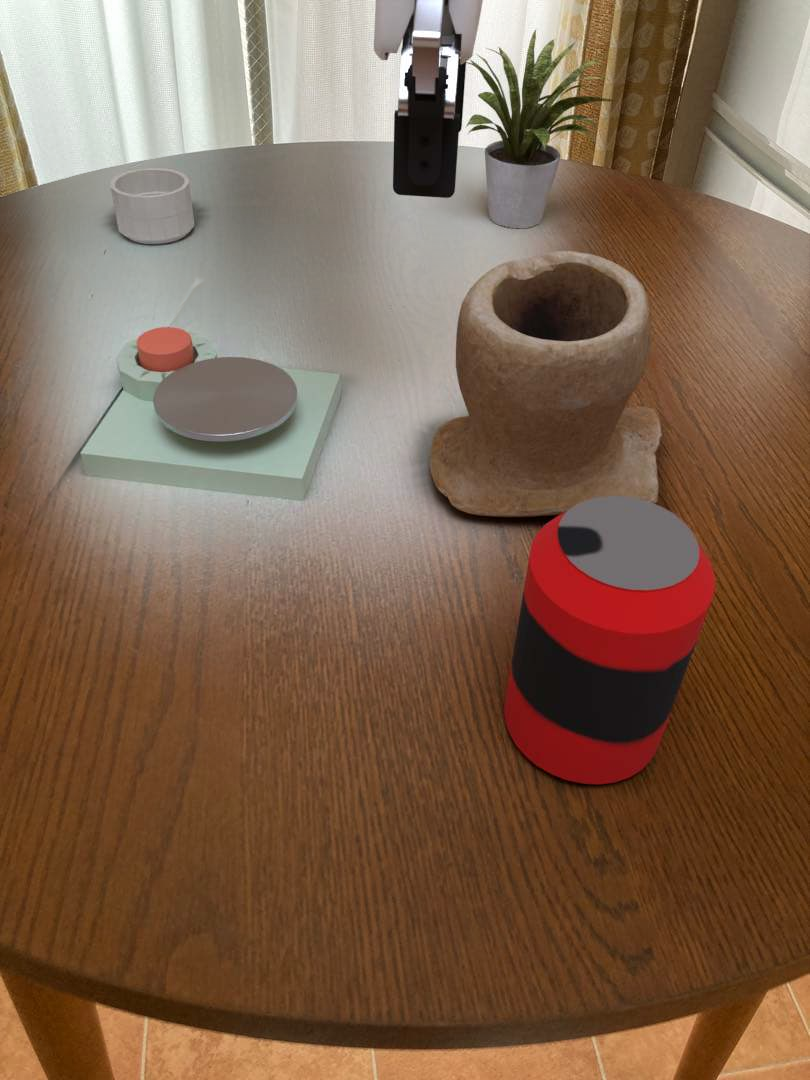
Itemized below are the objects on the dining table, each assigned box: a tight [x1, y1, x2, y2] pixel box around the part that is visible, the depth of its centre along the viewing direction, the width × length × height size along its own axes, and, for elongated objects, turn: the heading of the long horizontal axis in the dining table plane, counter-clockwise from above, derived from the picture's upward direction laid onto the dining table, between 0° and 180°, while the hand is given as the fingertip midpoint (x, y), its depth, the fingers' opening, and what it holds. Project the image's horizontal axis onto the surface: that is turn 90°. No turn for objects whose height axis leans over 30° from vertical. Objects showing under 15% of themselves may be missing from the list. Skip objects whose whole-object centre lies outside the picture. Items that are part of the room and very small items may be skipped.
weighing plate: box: [153, 356, 297, 441], centre depth 58 cm, size 9×9×1 cm
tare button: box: [137, 326, 194, 372], centre depth 62 cm, size 4×4×2 cm
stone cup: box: [428, 250, 663, 518], centre depth 53 cm, size 15×12×15 cm
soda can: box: [503, 496, 716, 785], centre depth 41 cm, size 8×8×12 cm
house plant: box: [465, 27, 618, 229], centre depth 84 cm, size 14×14×16 cm
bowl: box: [110, 167, 195, 245], centre depth 84 cm, size 7×7×4 cm
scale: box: [80, 332, 342, 502], centre depth 61 cm, size 15×13×4 cm
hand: (429, 160), depth 51 cm, fingers open, 9 cm apart
